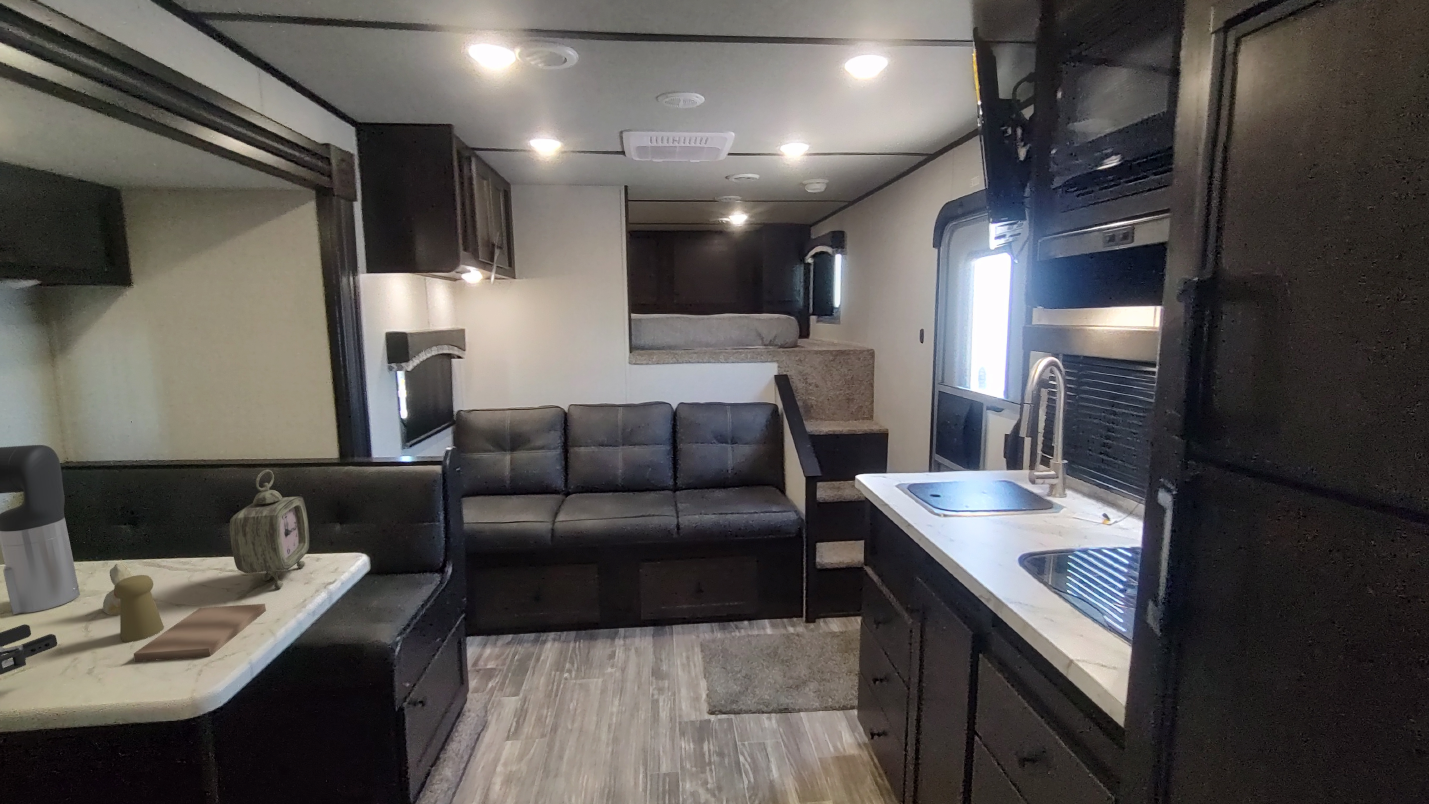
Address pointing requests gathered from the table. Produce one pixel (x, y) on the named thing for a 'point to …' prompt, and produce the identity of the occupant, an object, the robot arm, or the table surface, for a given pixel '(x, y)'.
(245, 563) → the tabletop clock
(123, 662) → the table surface
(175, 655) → the walnut board
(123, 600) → the cork
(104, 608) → the chocolate bunny
